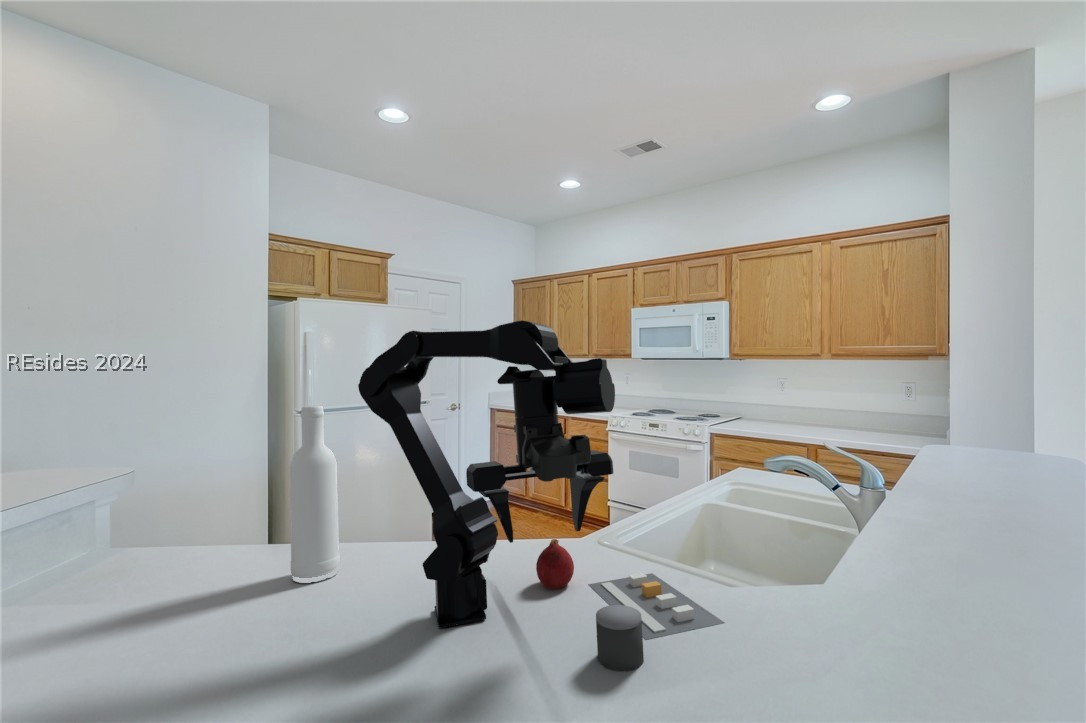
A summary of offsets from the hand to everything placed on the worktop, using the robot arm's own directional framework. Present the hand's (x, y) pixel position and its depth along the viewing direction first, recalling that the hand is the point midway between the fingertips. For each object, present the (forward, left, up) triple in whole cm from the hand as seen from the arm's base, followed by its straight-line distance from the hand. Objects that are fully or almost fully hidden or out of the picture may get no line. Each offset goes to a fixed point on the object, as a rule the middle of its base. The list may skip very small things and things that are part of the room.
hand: (544, 536), depth 65 cm
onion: (+5, +11, -12) cm, 17 cm away
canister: (+5, -11, -12) cm, 17 cm away
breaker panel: (+15, 0, -12) cm, 19 cm away
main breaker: (+16, +2, -11) cm, 20 cm away
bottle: (-32, +35, -12) cm, 49 cm away
